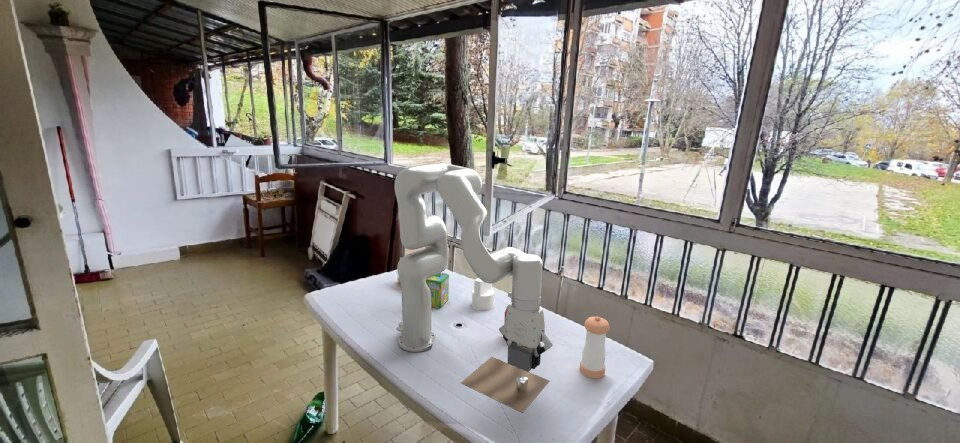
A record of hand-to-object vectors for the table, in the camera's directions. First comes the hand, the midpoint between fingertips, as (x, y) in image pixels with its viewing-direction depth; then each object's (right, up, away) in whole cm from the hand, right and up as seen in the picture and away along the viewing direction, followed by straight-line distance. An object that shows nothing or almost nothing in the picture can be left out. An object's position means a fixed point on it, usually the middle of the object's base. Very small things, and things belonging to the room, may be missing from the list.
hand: (523, 361), depth 111 cm
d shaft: (0, -8, +3) cm, 9 cm away
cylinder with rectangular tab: (-11, +4, +55) cm, 56 cm away
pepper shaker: (+22, -8, +12) cm, 26 cm away
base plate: (-5, -9, +6) cm, 12 cm away
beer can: (0, -3, +30) cm, 30 cm away
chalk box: (-30, +5, +56) cm, 64 cm away
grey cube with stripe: (0, 0, 0) cm, 0 cm away
